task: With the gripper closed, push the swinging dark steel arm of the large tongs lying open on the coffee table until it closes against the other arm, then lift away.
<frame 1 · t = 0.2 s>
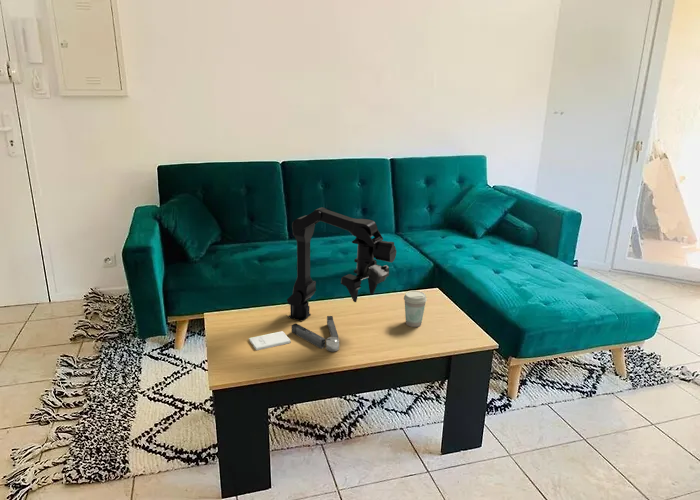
hand: (363, 298, 188), 14 cm above the table, tool pointing down, fingers open, 9 cm apart
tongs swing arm: (329, 332, 187), point 2 cm above the table, hinge at -35.0°
coffee cup: (413, 324, 200), on the table
tongs fixed arm: (332, 349, 179), on the table
external hard drive: (269, 343, 184), on the table
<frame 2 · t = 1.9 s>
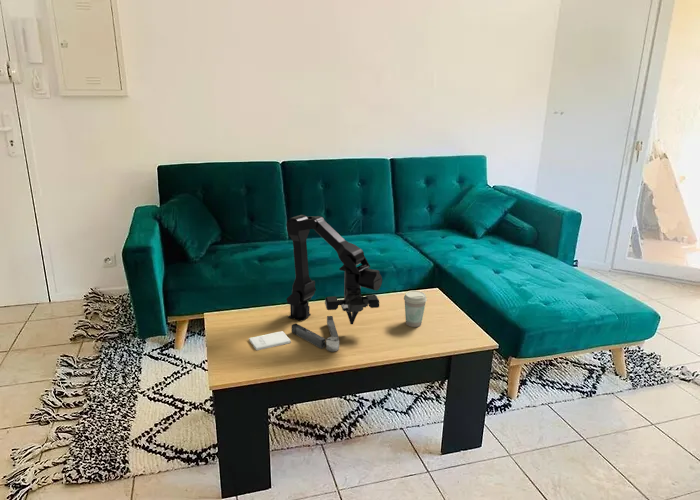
hand: (351, 324, 190), 4 cm above the table, tool pointing down, fingers closed
nothing on the table moved.
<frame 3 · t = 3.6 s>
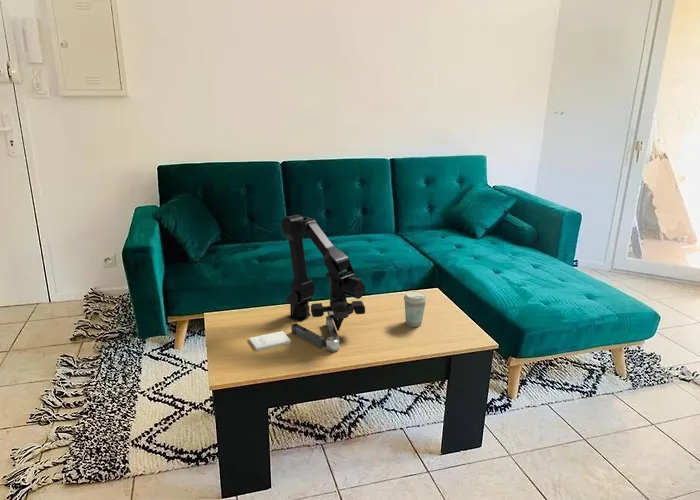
hand: (337, 330, 190), 1 cm above the table, tool pointing down, fingers closed
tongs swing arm: (329, 332, 187), point 2 cm above the table, hinge at -33.9°, touching gripper
everything else where it was.
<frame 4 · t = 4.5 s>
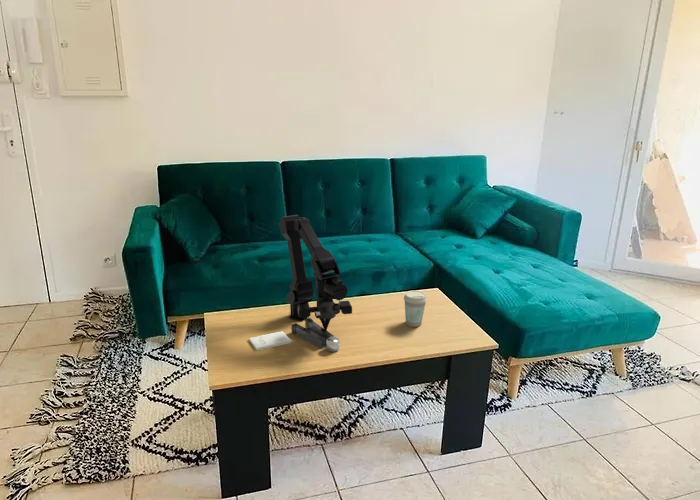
hand: (325, 330, 189), 2 cm above the table, tool pointing down, fingers closed
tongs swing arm: (319, 334, 185), point 2 cm above the table, hinge at -9.4°, touching gripper
everything else where it was.
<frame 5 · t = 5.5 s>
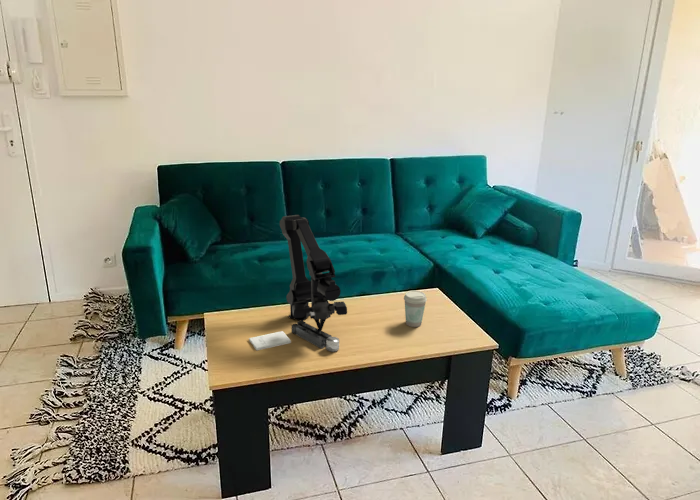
hand: (319, 331, 188), 2 cm above the table, tool pointing down, fingers closed
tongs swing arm: (316, 335, 184), point 2 cm above the table, hinge at 1.2°, touching gripper
everything else where it was.
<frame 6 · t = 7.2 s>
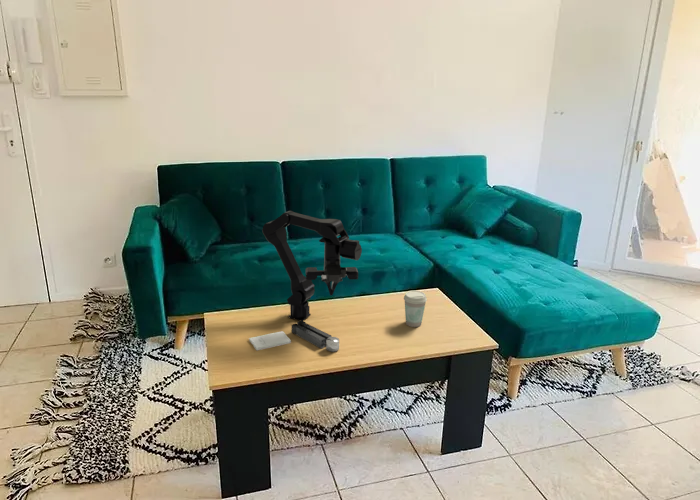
hand: (331, 295, 194), 12 cm above the table, tool pointing down, fingers closed
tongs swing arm: (316, 335, 184), point 2 cm above the table, hinge at 1.3°
everything else where it was.
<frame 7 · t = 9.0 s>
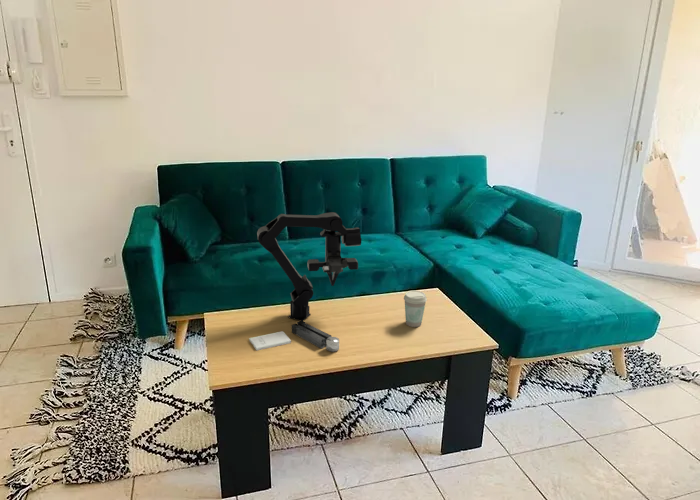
hand: (332, 285, 202), 12 cm above the table, tool pointing down, fingers closed
nothing on the table moved.
at the end: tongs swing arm at +1° (first picture: -35°) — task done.
